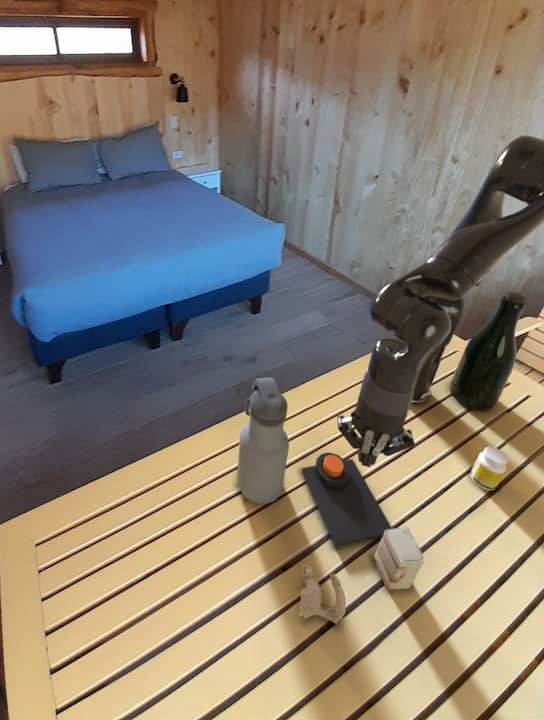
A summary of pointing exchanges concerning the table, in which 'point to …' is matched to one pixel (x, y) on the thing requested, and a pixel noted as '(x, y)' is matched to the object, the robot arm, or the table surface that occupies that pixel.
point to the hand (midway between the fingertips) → (365, 461)
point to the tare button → (333, 466)
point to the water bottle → (263, 444)
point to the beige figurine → (313, 598)
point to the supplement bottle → (489, 468)
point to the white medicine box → (398, 558)
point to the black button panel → (345, 503)
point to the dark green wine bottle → (488, 358)
